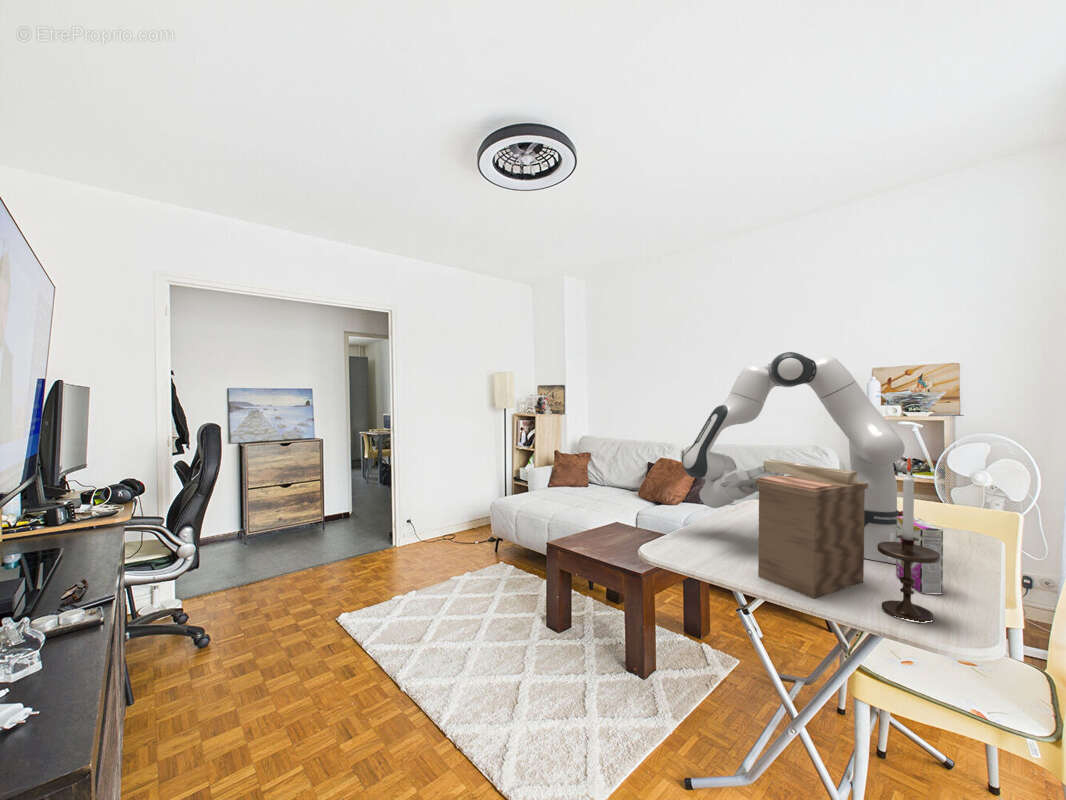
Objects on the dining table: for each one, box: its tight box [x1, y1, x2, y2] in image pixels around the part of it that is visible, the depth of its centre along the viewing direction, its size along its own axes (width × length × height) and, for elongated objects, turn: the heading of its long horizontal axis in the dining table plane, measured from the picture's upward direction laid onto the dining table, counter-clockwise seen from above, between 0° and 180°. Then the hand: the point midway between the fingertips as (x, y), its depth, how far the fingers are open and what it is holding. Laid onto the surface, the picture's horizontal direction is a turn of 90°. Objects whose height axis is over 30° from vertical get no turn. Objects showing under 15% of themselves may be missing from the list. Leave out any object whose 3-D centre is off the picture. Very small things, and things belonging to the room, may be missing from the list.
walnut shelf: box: [756, 475, 868, 600], centre depth 122 cm, size 22×16×26 cm
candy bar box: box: [895, 516, 944, 594], centre depth 118 cm, size 11×5×16 cm, turn 168°
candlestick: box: [878, 457, 940, 622], centre depth 103 cm, size 11×11×35 cm
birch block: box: [762, 459, 857, 485], centre depth 129 cm, size 4×24×3 cm, turn 27°
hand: (774, 467), depth 138 cm, fingers open, 8 cm apart
